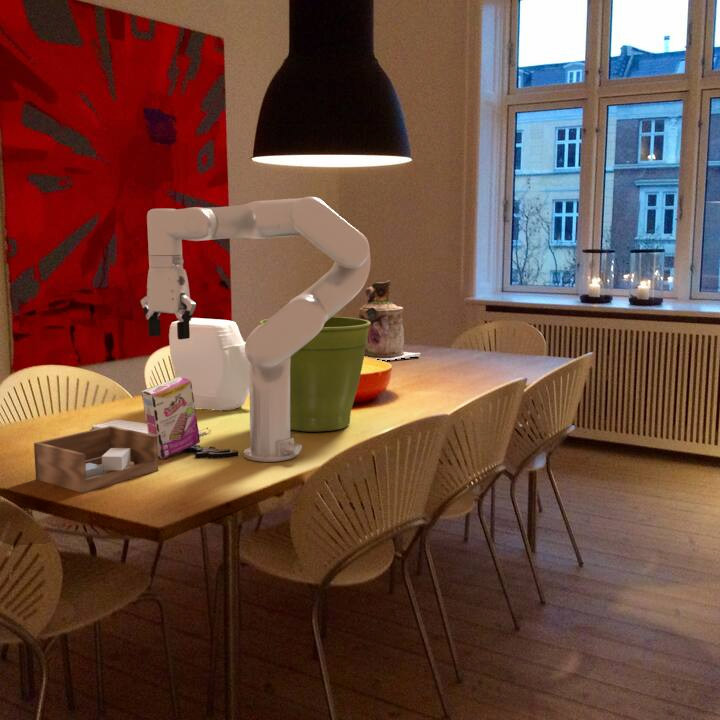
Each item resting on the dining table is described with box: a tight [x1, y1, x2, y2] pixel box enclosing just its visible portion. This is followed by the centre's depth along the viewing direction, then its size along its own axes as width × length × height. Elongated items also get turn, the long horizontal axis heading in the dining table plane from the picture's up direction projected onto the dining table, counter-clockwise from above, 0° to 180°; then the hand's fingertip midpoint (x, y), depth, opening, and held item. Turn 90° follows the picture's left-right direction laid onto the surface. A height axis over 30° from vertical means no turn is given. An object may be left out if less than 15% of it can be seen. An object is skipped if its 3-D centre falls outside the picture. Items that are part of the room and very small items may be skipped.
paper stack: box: [168, 317, 250, 411], centre depth 256 cm, size 21×27×26 cm
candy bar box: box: [140, 377, 201, 460], centre depth 202 cm, size 11×5×16 cm, turn 137°
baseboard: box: [90, 418, 212, 438], centre depth 228 cm, size 31×3×12 cm
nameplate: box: [181, 444, 239, 459], centre depth 209 cm, size 27×2×10 cm
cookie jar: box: [358, 280, 421, 362], centre depth 356 cm, size 25×25×32 cm
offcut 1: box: [86, 463, 103, 478], centre depth 181 cm, size 4×4×4 cm
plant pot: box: [259, 316, 370, 433], centre depth 233 cm, size 30×30×29 cm
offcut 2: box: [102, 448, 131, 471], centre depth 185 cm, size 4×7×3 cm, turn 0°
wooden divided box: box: [33, 426, 159, 494], centre depth 187 cm, size 16×20×8 cm
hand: (169, 337), depth 200 cm, fingers open, 9 cm apart
